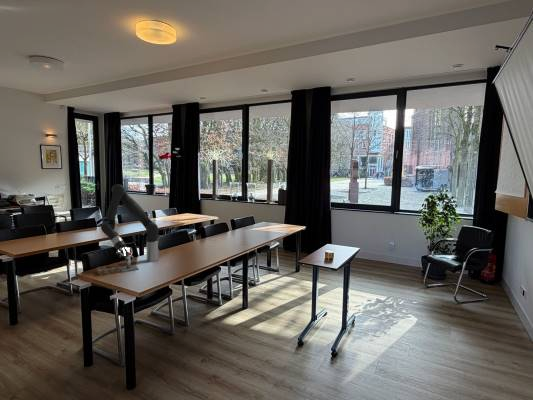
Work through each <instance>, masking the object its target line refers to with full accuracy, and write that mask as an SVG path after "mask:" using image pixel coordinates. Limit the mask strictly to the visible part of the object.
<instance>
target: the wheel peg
mask: <svg viewBox="0 0 533 400" xmlns="http://www.w3.org/2000/svg"><path fill="white" fill-rule="evenodd" d="M125 254H126V256H127V257H128V259H129V260H128V261H126V260H125V261H126V265H125V267H126V268H127V269H129V268H131V266H132V265H131V262H132V261H131V252H127V253H125Z"/></svg>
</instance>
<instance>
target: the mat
mask: <svg viewBox="0 0 533 400" xmlns="http://www.w3.org/2000/svg"><path fill="white" fill-rule="evenodd" d="M119 267H120V273H127V272H132V271H139V267H137V266H136V264H134V265H133V264H132V265H131V268H129V269H127V268H126V266H119Z"/></svg>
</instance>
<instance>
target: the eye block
mask: <svg viewBox="0 0 533 400" xmlns="http://www.w3.org/2000/svg"><path fill="white" fill-rule="evenodd" d="M120 267H121V266H119V265H118V264H117V263H116V264H115V263H114V264H110V265H109V264H108V265H103V266H97V267H96V270H97V271H96V272H97V274H98V275H99V276H105V275H106V276H107V275H112V274H119V273H121V271H120Z"/></svg>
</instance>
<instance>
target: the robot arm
mask: <svg viewBox="0 0 533 400" xmlns="http://www.w3.org/2000/svg"><path fill="white" fill-rule="evenodd" d="M111 192H112V194H111V195H112V196H111V198H110V199H111V200H110V203H109V206H108V208H107V211H106V214H105V220H107V222H104V223H102V224H101V225H100V230H101V232H102V233H104V234H105V236H106V237H108V238H109V240H110V241H111V243H112V245H113V246H114V248H115V249H116V252H115V254H116V255H117V256H119V257H120V258H121V259H124V260H125V261H128V260H129V259H128V257H127V256H126V253H127V252H131V260H134V256H133V253H134V252H133V248H132V247H131V246H130V247H128V246H127V244H126V243H125V241H124V239H123V238H122V236H120V235H119V233H118V232H117V231H116V230H115V228H116V217H117V213H118V208H119V205H120V201H121V202H122V203H123V205H124V206H125V208H126V209H127V210H128V212H129V213H130V214H131V215H132V216H133V217H134V218H136V219H137V220H138V221H139V222H140V223H141V225H143V227H144V229H145V231H146V262H148V263H154V262H158V261H159V260H160V259H159V258H160V254H159V253H160V250H159V240H158V239H159V227H158V225H157V223H155V222H154V221H153V220H152V219H151V218H150V217H149V216H148V215H147V214H146V212H145V210H144V209H143V208H142V207H141V206H140V204H139V203H138V202H137V201H136V200H135V199H133V198H132V197H131V196H130V195H129V193H127V191H126V190H125V187H124V186H123V185H122V184H119V183H118V184H117V183H116V184H114V185H113V186H112V187H111Z"/></svg>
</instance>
